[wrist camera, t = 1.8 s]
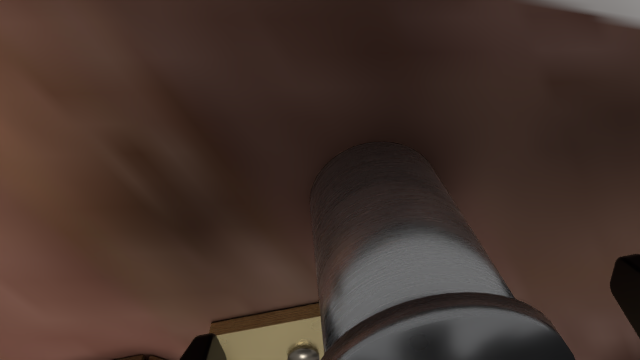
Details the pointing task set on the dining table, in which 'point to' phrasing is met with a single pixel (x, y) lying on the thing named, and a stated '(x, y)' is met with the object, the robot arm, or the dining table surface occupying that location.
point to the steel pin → (411, 269)
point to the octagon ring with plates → (270, 336)
